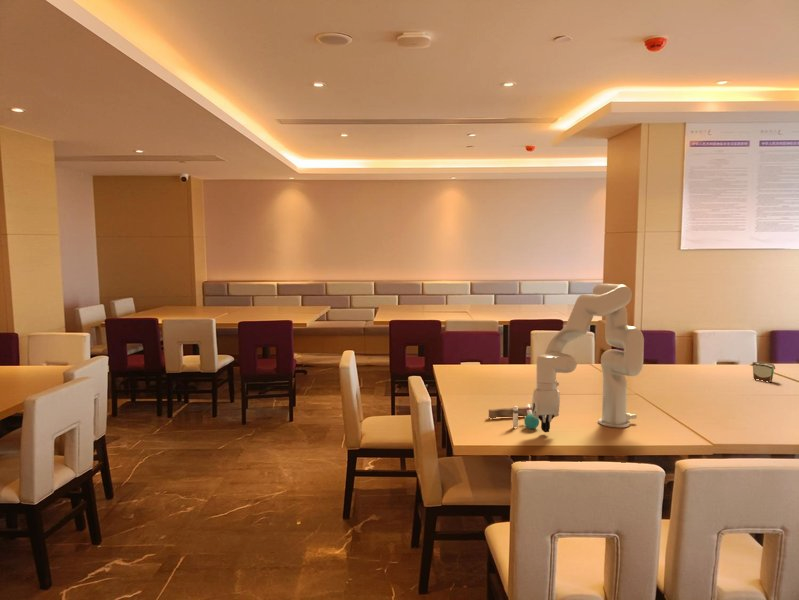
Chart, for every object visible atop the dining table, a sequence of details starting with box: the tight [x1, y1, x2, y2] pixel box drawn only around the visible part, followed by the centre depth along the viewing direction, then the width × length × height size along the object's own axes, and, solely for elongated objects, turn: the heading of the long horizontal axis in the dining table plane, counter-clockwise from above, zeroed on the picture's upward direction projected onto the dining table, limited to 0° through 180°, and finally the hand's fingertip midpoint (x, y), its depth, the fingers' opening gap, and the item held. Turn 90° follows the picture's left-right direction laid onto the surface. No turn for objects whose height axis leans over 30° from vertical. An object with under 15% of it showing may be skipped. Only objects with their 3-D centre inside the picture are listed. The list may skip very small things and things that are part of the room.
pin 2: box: [524, 403, 532, 415], centre depth 231 cm, size 2×2×9 cm
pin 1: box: [512, 405, 519, 428], centre depth 226 cm, size 2×2×9 cm
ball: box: [523, 414, 540, 430], centre depth 225 cm, size 6×6×6 cm
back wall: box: [488, 406, 533, 418], centre depth 242 cm, size 24×2×4 cm, turn 102°
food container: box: [751, 361, 776, 383], centre depth 308 cm, size 12×6×10 cm, turn 22°
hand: (545, 431), depth 217 cm, fingers closed
